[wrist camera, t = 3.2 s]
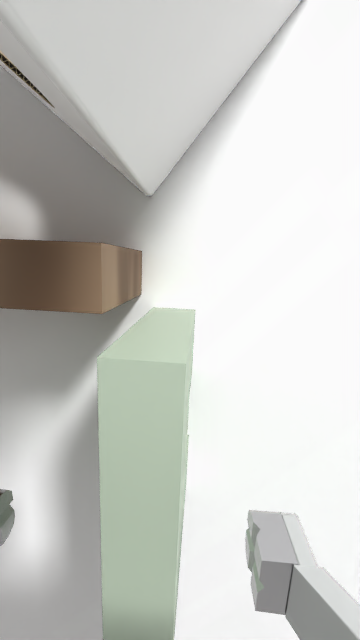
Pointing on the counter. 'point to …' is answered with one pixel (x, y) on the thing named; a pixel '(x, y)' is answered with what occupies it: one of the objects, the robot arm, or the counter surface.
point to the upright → (67, 275)
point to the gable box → (136, 69)
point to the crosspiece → (144, 472)
